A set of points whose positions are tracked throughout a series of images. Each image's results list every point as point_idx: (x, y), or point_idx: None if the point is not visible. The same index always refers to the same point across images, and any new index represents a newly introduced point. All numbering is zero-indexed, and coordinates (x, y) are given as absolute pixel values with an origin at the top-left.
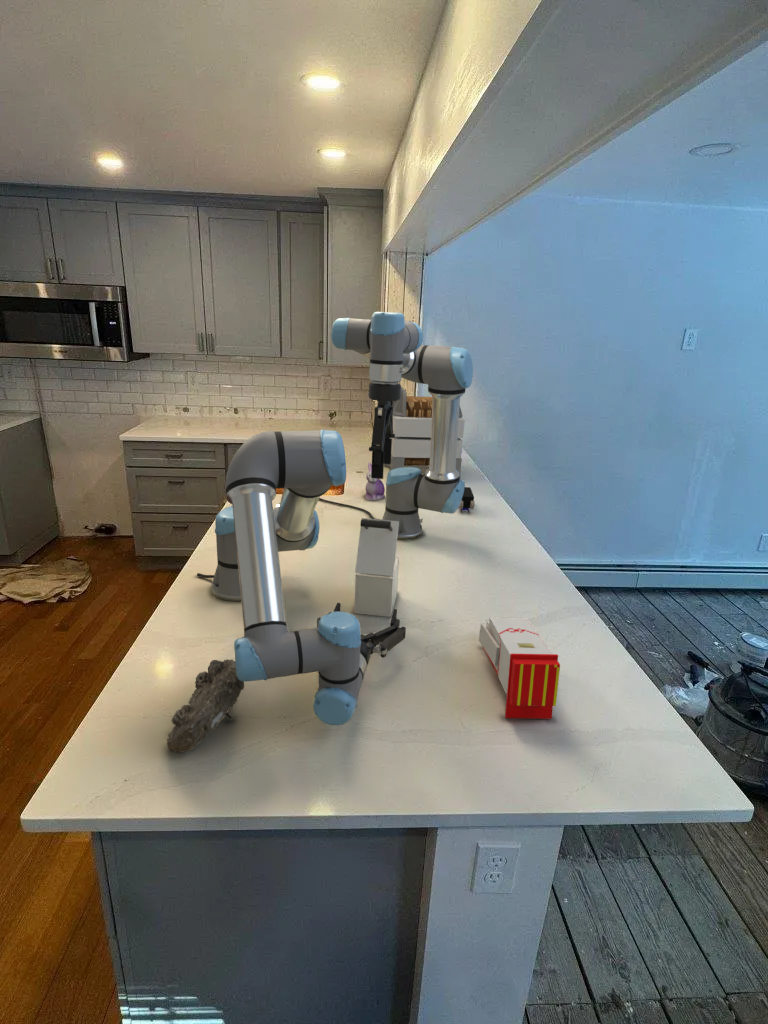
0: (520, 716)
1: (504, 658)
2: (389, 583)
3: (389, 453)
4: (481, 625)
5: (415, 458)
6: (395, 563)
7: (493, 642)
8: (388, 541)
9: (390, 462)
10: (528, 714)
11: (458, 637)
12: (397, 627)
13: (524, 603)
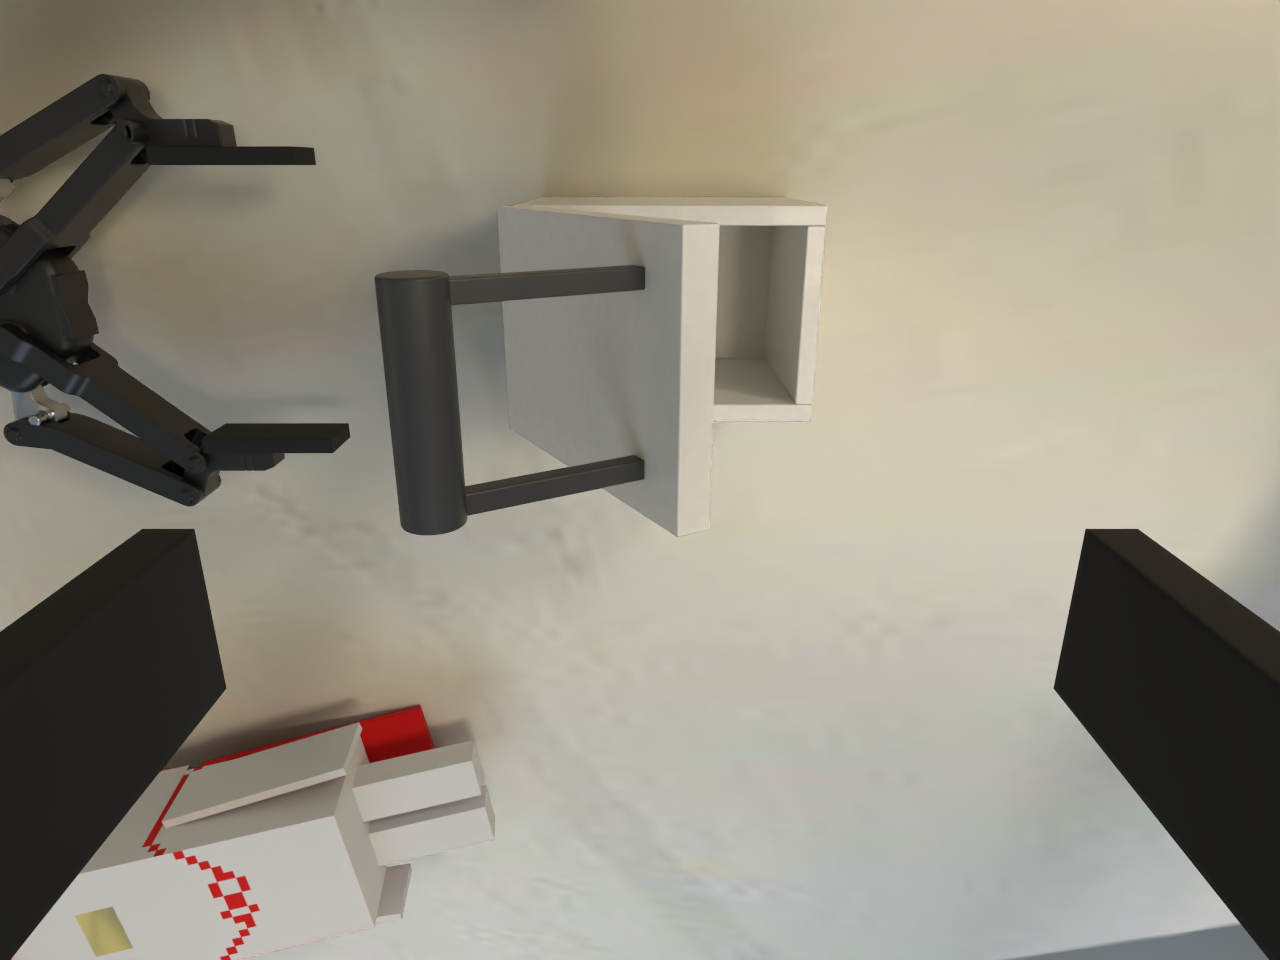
0: None
1: None
2: None
3: (1160, 797)
4: (334, 767)
5: None
6: (724, 411)
7: (199, 809)
8: (596, 434)
9: (1074, 705)
10: None
11: (467, 629)
12: (189, 470)
13: (775, 841)
